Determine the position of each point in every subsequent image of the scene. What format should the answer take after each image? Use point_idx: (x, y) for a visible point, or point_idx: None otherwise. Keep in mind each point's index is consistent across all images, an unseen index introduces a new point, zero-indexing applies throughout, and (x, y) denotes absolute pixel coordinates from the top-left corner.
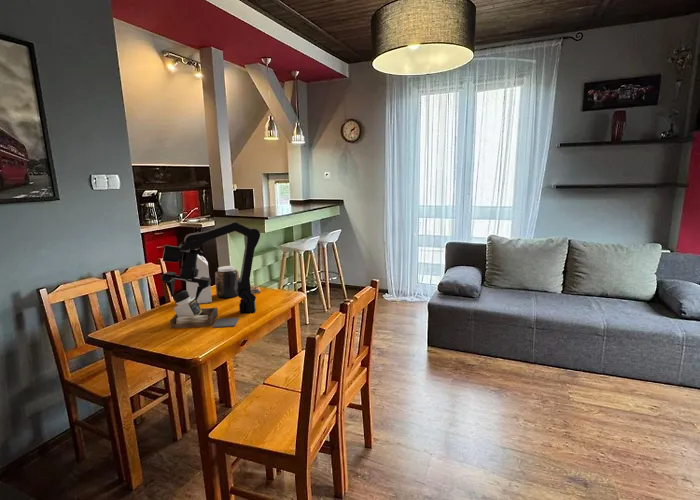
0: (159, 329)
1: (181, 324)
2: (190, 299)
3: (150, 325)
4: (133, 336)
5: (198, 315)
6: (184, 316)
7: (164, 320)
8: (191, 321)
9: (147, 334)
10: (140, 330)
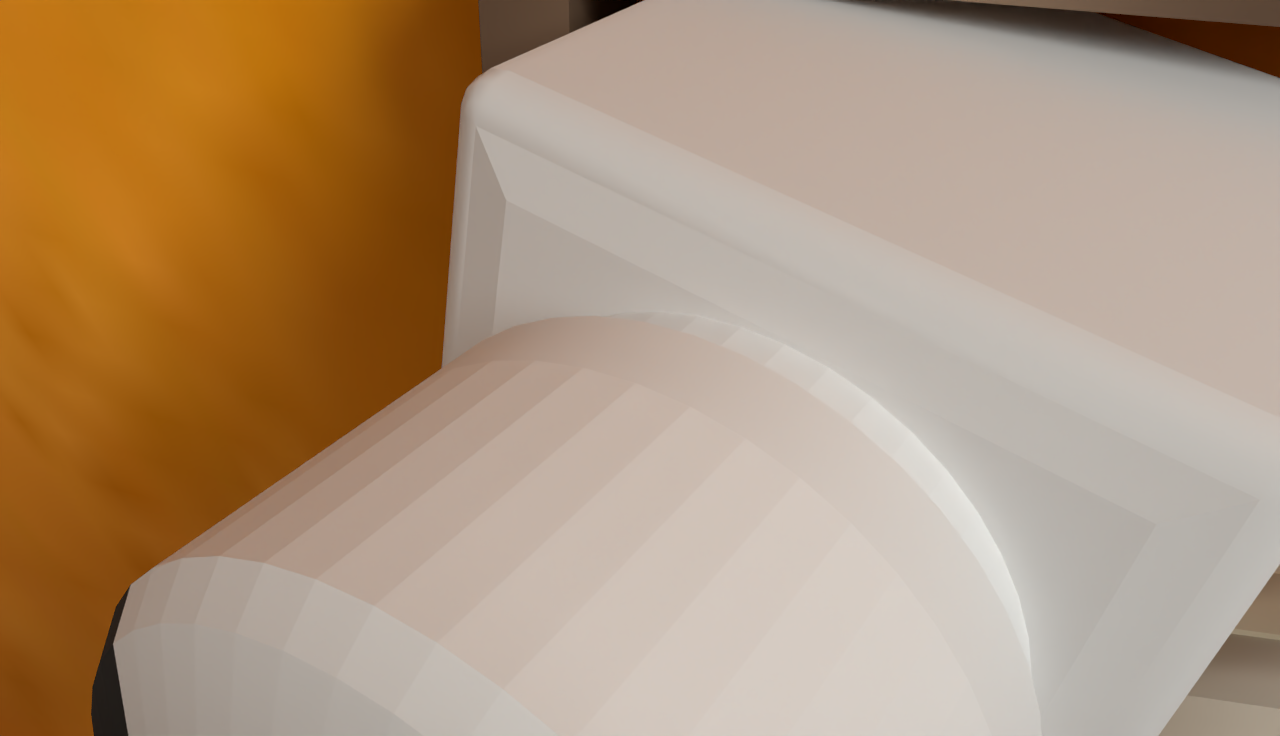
0: None
1: None
2: (1021, 592)
3: (33, 293)
4: (76, 702)
5: (1253, 708)
6: None
7: (176, 17)
8: None
9: None
10: (13, 502)
